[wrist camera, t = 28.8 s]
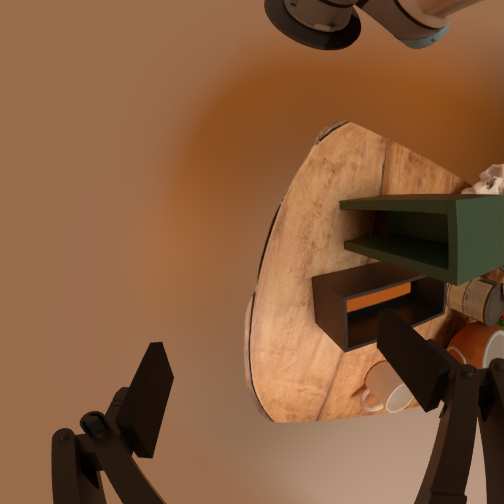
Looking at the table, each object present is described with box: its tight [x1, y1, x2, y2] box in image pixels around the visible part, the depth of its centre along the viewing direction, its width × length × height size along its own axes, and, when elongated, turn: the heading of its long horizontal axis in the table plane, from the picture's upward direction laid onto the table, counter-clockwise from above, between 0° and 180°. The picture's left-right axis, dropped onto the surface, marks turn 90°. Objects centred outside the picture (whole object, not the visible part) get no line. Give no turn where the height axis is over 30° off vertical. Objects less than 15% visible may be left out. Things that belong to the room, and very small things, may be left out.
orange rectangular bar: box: [347, 282, 410, 312], centre depth 51 cm, size 19×4×3 cm, turn 99°
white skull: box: [461, 164, 504, 195], centre depth 50 cm, size 14×20×19 cm
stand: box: [339, 194, 504, 286], centre depth 38 cm, size 12×9×28 cm
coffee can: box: [447, 277, 504, 327], centre depth 52 cm, size 10×10×14 cm
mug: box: [360, 361, 414, 413], centre depth 53 cm, size 12×8×10 cm
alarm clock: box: [447, 321, 504, 369], centre depth 49 cm, size 19×18×17 cm
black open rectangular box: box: [312, 261, 447, 352], centre depth 47 cm, size 22×9×13 cm, turn 99°
